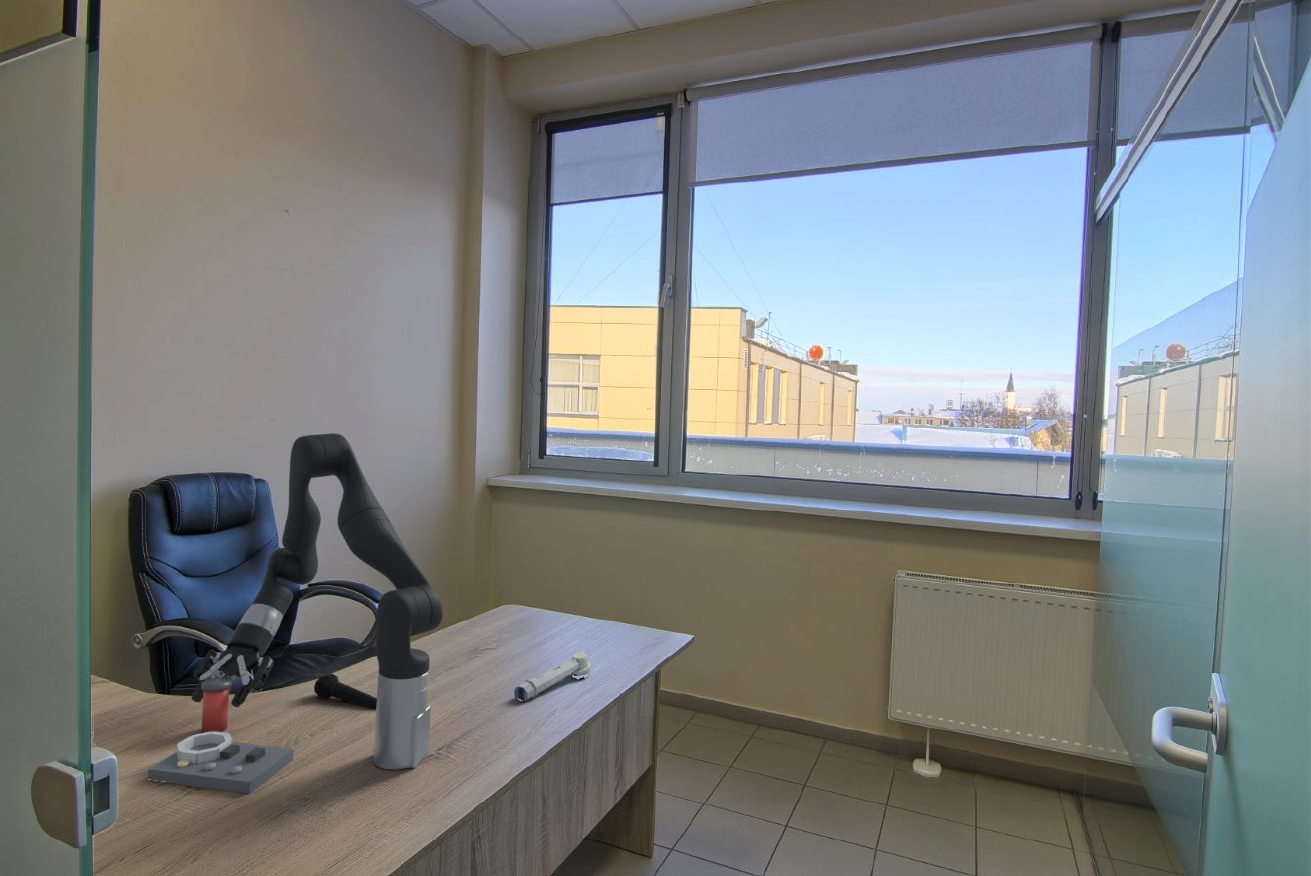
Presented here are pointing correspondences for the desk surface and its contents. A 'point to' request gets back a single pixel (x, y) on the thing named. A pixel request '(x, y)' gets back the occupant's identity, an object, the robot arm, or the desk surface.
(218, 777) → the grey control panel
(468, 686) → the desk surface
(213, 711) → the cap
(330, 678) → the microphone
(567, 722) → the desk surface
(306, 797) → the desk surface
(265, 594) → the robot arm
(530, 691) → the toothbrush head
